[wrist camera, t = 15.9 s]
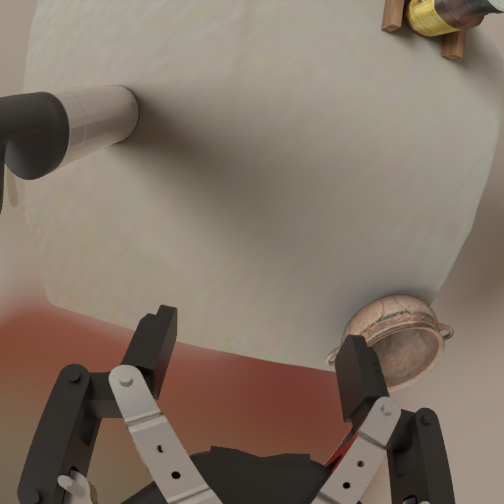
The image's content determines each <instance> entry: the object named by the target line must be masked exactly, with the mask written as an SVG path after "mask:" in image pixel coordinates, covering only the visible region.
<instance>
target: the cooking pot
mask: <svg viewBox="0 0 504 504" xmlns="http://www.w3.org/2000/svg"><path fill="white" fill-rule="evenodd" d="M441 330H447V331H449V334H448V335H445V336H442V335H441V334H440V331H441ZM453 333H454V330H453V328H452V327H450V326H448V325H444V324H441V323H438V320H437V317H436V315H435V313H434V311H433V310H432V309H431V307H430V306H429V305H428V304H426V303H425V302H424V301H422V300H420V299H418V298H416V297H413V296H408V295H391V296H386V297H383V298H380V299H377V300H375V301H373V302H371V303H369V304H368V305H366V306H365V307H363V308H362V309H361V310H359V311H358V312H357V313H356V314H355V315H354V316H353V318H352V319H351V320H350V321H349V323H348V325H347V327H346V328H345V330H344V333H343V336H342V340H341V346H342V344H343V342H344V340H345V338H346V337H347V335H349V334H352V335H362V336H364V337H365V340H366V343H367V347H372V348H373V350H374V351H375V352H376V354H377V355H378V358H379V362H380V365H381V368H382V372H383V375H384V379H385V382H386V386H387V389H388V392H393V391H397V390H400V389H403V388H405V387H408V386H410V385H412V384H414V383H416V382H417V381H419V380H420V379H422V378H423V377H425V376H426V375H427V374H428V373H429V372H430V371H431V370H432V369H433V368H434V367H435V366H436V365H437V364H438V362H439V360H440V359H441V357H442V354H443V352H444V347H445V346H444V340H447V339H449V338H451V337H452V335H453ZM341 346H339V347H338V348H336V349H335V350H333V351H332V352H331V353H329V354H328V355H327V356H326V358H325V364H326V365H328V366H335V361H331V362H330V359H331V358H332V357H333V356H335V355H337V353H338V351H339V349H340V348H341Z"/></svg>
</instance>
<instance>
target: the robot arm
mask: <svg viewBox="0 0 504 504" xmlns="http://www.w3.org/2000/svg"><path fill="white" fill-rule="evenodd" d="M138 116H139V108H138V103H137V101H136V98H135V97H134V95H133V94H132V92H130V91H129V90H128V89H126V88H125V87H122V86H118V85H116V86H90V87H77V88H66V89H57V90H50V91H42V92H36V93H29V94H20V95H12V96H6V97H1V98H0V213H1V210H2V203H3V188H4V165H5V164H6V165H7V167H8V168H9V169H10V171H11V172H12V173H14V174H15V175H16V176H18V177H20V178H22V179H25V180H34V179H38V178H40V177H42V176H44V175H46V174H48V173H50V172H52V171H54V170H56V169H58V168H60V167H62V166H64V165H67V164H68V163H70V162H73V161H75V160H77V159H79V158H81V157H84V156H86V155H88V154H90V153H93V152H95V151H97V150H100V149H102V148H104V147H107V146H109V145H112V144H114V143H117V142H119V141H122V140H124V139H125V138H127V137H128V136H129V135H130V134H131V133H132V131H133V130H134V128H135V126H136V124H137V121H138ZM176 336H177V308H175V307H171V306H166V305H161V306H160V307H159V310H158V312H157V314H156V315H153V314H149V313H148V314H147V315H146V316H145V317H143V318H142V319H141V320H140V322H139V324H138V327H137V329H136V331H135V333H134V335H133V338H132V340H131V342H130V344H129V347H128V349H127V351H126V354H125V356H124V358H123V361H122V363H121V364H120V365H119V366H117V367H116V368H114V369H113V370H112V371H110V372H105V373H90V372H88V370H87V369H86V368H85V367H84V366H82V365H79V364H71V365H68V366H66V367H64V368H63V369H62V370H61V372H60V374H59V376H58V378H57V380H56V383H55V385H54V387H53V390H52V392H51V394H50V397H49V399H48V402H47V404H46V406H45V409H44V412H43V414H42V417H41V419H40V422H39V424H38V427H37V430H36V433H35V435H34V438H33V441H32V444H31V447H30V450H29V453H28V456H27V459H26V462H25V465H24V469H23V472H22V475H21V479H20V482H19V486H18V491H17V494H18V499H19V502H20V503H21V504H98V493H97V490H96V488H95V486H94V485H93V484H92V483H91V482H90V481H89V480H87V479H86V477H87V472H88V468H89V464H90V460H91V456H92V452H93V449H94V444H95V441H96V437H97V434H98V430H99V427H100V423H101V420H102V418H123V420H124V422H125V425H126V427H127V429H128V431H129V434H130V436H131V438H132V440H133V442H134V444H135V446H136V448H137V450H138V453H139V455H140V457H141V459H142V461H143V463H144V464H145V466H146V468H147V470H148V472H149V474H150V476H151V477H152V479H153V482H151V483H150V484H149V485H147V486H146V487H144V488H143V489H141V490H140V491H139V492H137V493H136V494H134V495H133V496H131V497H130V498H128V499H127V500H125V501H124V502H122V503H121V504H362V503H361V502H360V501H359V498H360V497H361V495H362V494H363V492H364V491H365V489H366V488H367V485H368V484H369V483H370V481H371V479H372V478H373V476H374V474H375V472H376V471H377V469H378V467H379V465H380V463H381V462H382V460H383V458H384V456H385V454H386V452H387V458H388V467H389V476H390V487H391V499H392V504H455V498H454V492H453V485H452V480H451V474H450V469H449V464H448V459H447V454H446V449H445V445H444V440H443V437H442V432H441V428H440V424H439V420H438V417H437V415H436V414H435V412H434V411H432V410H431V409H429V408H421V409H419V410H418V411H417V412H416V413H414V412H410V411H406V410H403V409H400V406H399V404H398V403H397V402H396V401H395V400H394V399H392V398H390V397H389V394H388V389H387V386H386V382H385V379H384V375H383V372H382V368H381V365H380V362H379V358H378V355H377V354H376V352H375V351H374V350H373V348H372V347H367V343H366V340H365V337H364V336H362V335H352V334H349V335H347V337H346V338H345V340H344V342H343V344H342V346H341V348H340V349H339V351H338V353H337V355H336V359H335V369H336V374H337V381H338V386H339V393H340V400H341V406H342V413H343V420H344V422H352V426H353V427H352V428H351V429H350V430H349V432H348V434H347V435H346V436H345V438H344V439H343V441H342V442H341V444H340V445H339V447H338V448H337V450H336V451H335V452H334V454H333V455H332V456H331V457H330V459H329V460H328V461H327V462H326V463H325V464H324V465H322V464H320V463H318V462H316V461H313V460H310V454H290V453H289V454H288V453H287V454H281V455H275V456H269V457H258V456H255V455H252V454H249V453H246V452H243V451H240V450H237V449H230V448H223V447H216V446H211V450H210V451H204V452H199V453H195V454H192V455H190V456H188V454H187V453H186V451H185V450H184V448H183V446H182V445H181V443H180V441H179V440H178V438H177V436H176V434H175V433H174V431H173V429H172V428H171V426H170V424H169V422H168V420H167V419H166V417H165V416H164V414H163V413H161V412H160V410H159V408H158V407H157V405H156V403H155V401H154V399H157V400H158V398H159V395H160V392H161V388H162V385H163V381H164V378H165V374H166V371H167V368H168V364H169V361H170V358H171V355H172V351H173V348H174V345H175V341H176Z"/></svg>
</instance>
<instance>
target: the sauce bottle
mask: <svg viewBox="0 0 504 504" xmlns="http://www.w3.org/2000/svg"><path fill="white" fill-rule="evenodd" d="M489 13H504V0H411V1H410V2H409V3H408V4H407V6H406V7H405V9H404V16H405V20H406V22H407V24H408V25H409V27H410V28H411V29H412V30H413V31H414V32H416V33H417V34H419V35H422V36H437V35H441V34H445V33H450V32H454V31H459V30H464V29H467V28H469V27H475V26H477V25H479V24H480V23H481V22H482V20H483V19H484V16H485V15H487V14H489Z"/></svg>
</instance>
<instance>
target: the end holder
mask: <svg viewBox="0 0 504 504" xmlns="http://www.w3.org/2000/svg"><path fill="white" fill-rule="evenodd" d="M403 6H404V0H386V1H385V8H384V14H383V21H382V27H381V30H383V31H385V32H388V33H389V32H392V31H394V30H396V29H398V28H400V27H401V21H402V14H403ZM465 34H466V29H464V30H459V31H454V32H450V33H445V34H444V38H443V46H442V53H441V57H443V58H445V59H459V58H463V51H464V43H465Z"/></svg>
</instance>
